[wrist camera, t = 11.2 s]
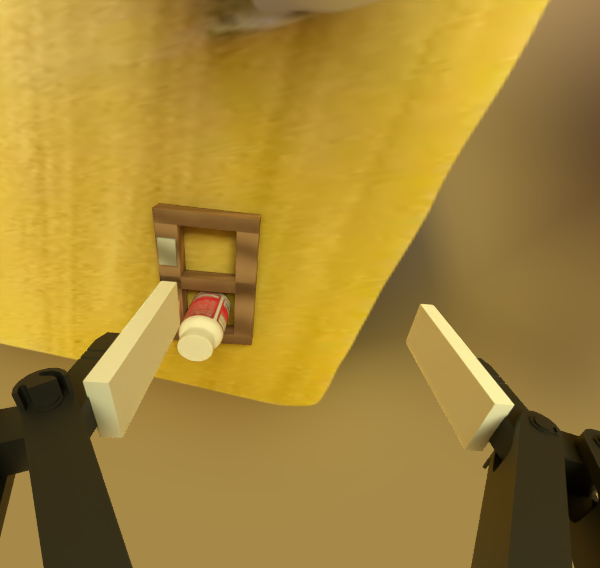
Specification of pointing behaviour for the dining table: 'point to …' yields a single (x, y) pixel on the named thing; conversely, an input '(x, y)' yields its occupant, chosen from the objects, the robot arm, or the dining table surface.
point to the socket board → (241, 284)
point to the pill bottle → (203, 325)
